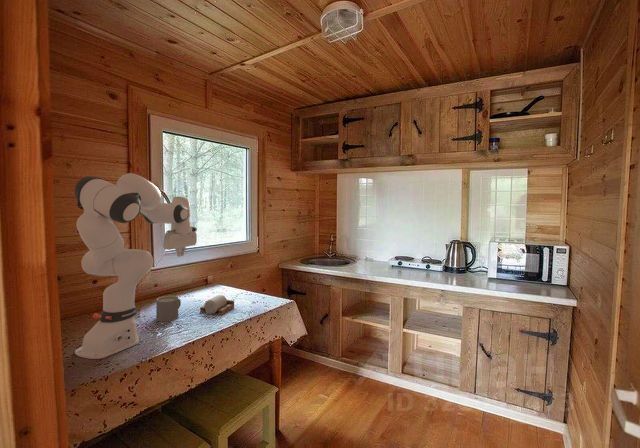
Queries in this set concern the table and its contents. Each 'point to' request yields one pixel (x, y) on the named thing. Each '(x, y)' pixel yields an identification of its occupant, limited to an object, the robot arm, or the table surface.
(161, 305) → the coffee mug
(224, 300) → the can
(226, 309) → the cradle
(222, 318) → the table surface
